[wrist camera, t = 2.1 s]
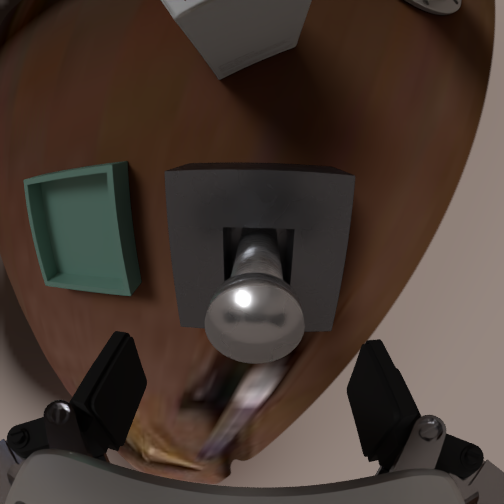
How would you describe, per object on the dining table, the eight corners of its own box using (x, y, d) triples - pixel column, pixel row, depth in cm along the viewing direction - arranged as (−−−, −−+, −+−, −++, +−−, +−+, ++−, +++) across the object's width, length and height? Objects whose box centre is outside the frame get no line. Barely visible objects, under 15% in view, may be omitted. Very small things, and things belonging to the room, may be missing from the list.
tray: (40, 175, 22) (23, 180, 19) (127, 161, 22) (112, 164, 19) (58, 274, 27) (45, 285, 24) (141, 282, 26) (130, 296, 24)
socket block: (188, 163, 22) (164, 171, 16) (332, 166, 21) (355, 175, 16) (196, 288, 26) (180, 326, 21) (318, 292, 26) (331, 331, 20)
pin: (232, 209, 22) (200, 284, 11) (286, 211, 22) (310, 287, 11) (233, 259, 24) (208, 360, 13) (283, 260, 24) (298, 363, 12)
